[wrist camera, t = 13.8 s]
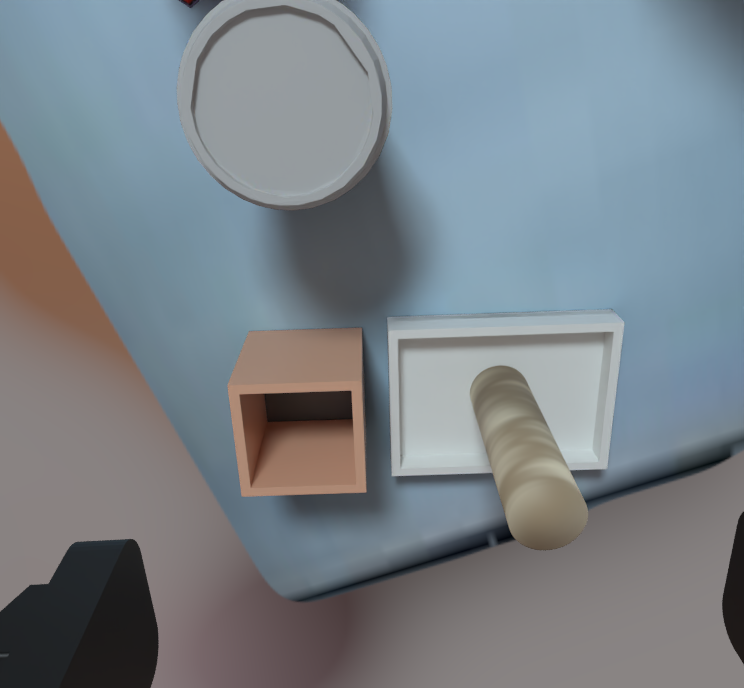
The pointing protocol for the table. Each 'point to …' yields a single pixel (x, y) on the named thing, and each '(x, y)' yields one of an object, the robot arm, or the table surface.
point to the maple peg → (526, 462)
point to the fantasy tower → (189, 2)
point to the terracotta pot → (299, 438)
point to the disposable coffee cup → (284, 100)
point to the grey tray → (493, 348)
